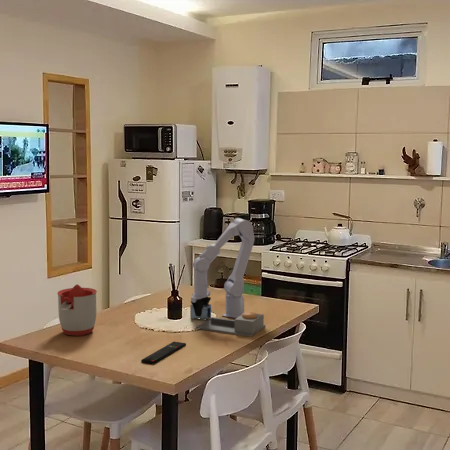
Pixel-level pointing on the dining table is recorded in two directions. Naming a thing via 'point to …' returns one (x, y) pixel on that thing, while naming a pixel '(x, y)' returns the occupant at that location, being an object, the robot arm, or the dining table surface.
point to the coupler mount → (236, 324)
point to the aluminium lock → (204, 311)
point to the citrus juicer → (77, 310)
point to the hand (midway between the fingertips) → (200, 314)
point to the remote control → (163, 353)
